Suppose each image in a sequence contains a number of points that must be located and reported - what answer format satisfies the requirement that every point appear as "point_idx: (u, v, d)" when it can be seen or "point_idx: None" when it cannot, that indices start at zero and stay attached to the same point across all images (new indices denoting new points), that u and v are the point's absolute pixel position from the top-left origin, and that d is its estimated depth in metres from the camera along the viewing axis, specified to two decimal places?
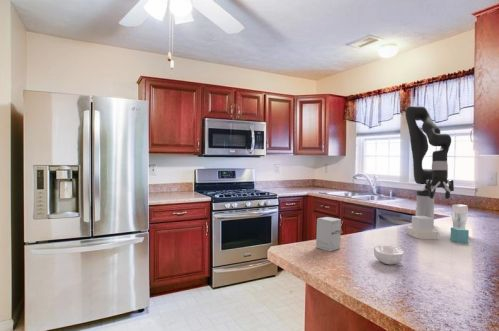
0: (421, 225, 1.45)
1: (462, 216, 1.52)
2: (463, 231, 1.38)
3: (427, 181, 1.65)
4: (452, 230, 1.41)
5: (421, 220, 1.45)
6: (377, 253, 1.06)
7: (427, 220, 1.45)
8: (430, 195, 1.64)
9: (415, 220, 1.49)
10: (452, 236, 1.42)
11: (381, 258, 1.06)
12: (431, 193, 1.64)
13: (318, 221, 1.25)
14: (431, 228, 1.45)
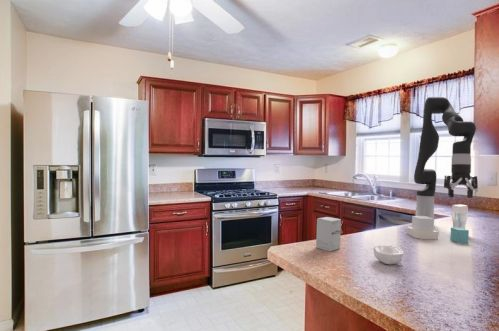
0: (421, 225, 1.45)
1: (462, 216, 1.52)
2: (464, 231, 1.38)
3: (446, 177, 1.40)
4: (452, 230, 1.41)
5: (421, 221, 1.45)
6: (377, 253, 1.06)
7: (427, 220, 1.45)
8: (450, 194, 1.40)
9: (415, 220, 1.49)
10: (452, 236, 1.42)
11: (381, 258, 1.06)
12: (451, 191, 1.40)
13: (318, 221, 1.25)
14: (431, 228, 1.45)
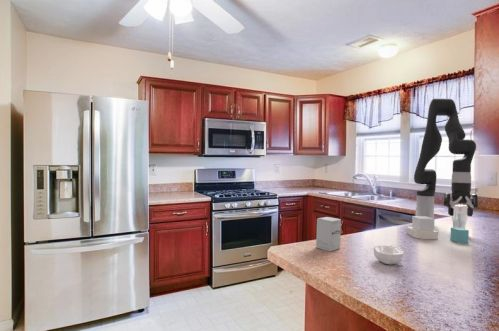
0: (421, 225, 1.45)
1: (462, 216, 1.52)
2: (463, 231, 1.38)
3: (446, 195, 1.40)
4: (452, 230, 1.41)
5: (421, 221, 1.45)
6: (377, 253, 1.06)
7: (428, 220, 1.45)
8: (450, 212, 1.40)
9: (415, 220, 1.49)
10: (452, 236, 1.42)
11: (381, 258, 1.06)
12: (451, 209, 1.39)
13: (318, 221, 1.25)
14: (432, 228, 1.45)
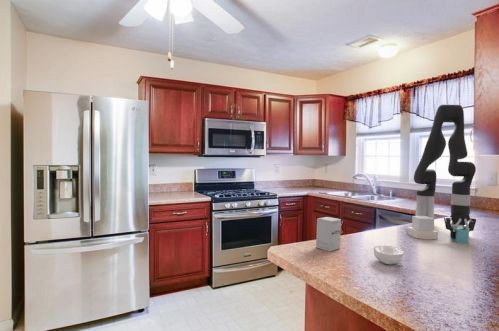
0: (421, 225, 1.45)
1: None
2: (464, 231, 1.38)
3: (446, 220, 1.40)
4: None
5: (421, 221, 1.45)
6: (377, 253, 1.06)
7: (427, 220, 1.45)
8: (452, 236, 1.40)
9: (415, 220, 1.49)
10: None
11: (381, 258, 1.06)
12: (453, 233, 1.40)
13: (318, 221, 1.25)
14: (431, 228, 1.45)
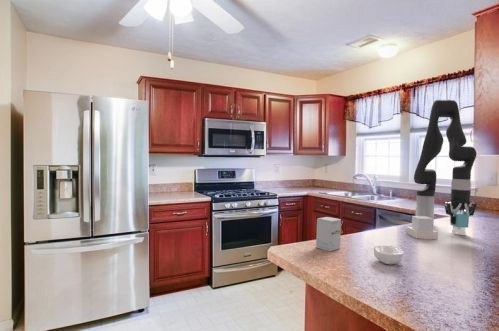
0: (420, 225, 1.46)
1: None
2: (464, 216, 1.38)
3: (446, 205, 1.40)
4: None
5: (420, 221, 1.45)
6: (377, 253, 1.06)
7: (427, 220, 1.45)
8: (452, 220, 1.40)
9: (415, 220, 1.49)
10: None
11: (381, 258, 1.06)
12: (453, 218, 1.40)
13: (318, 221, 1.25)
14: (431, 228, 1.45)
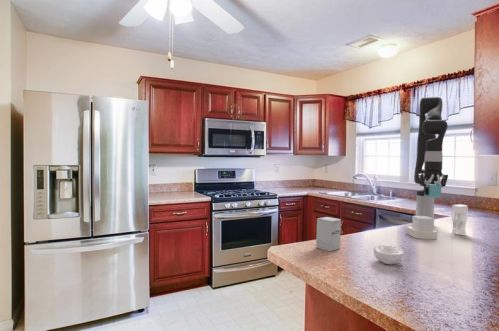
0: (420, 225, 1.45)
1: (462, 216, 1.52)
2: (436, 186, 1.44)
3: (419, 176, 1.46)
4: None
5: (420, 220, 1.45)
6: (377, 253, 1.06)
7: (427, 220, 1.45)
8: (425, 191, 1.46)
9: (415, 220, 1.49)
10: None
11: (381, 258, 1.06)
12: (426, 189, 1.46)
13: (318, 221, 1.25)
14: (431, 228, 1.45)
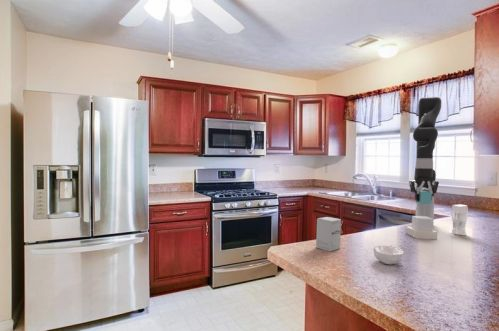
0: (419, 225, 1.46)
1: (462, 216, 1.52)
2: (427, 193, 1.46)
3: (410, 183, 1.48)
4: None
5: (419, 220, 1.46)
6: (377, 253, 1.06)
7: (426, 220, 1.45)
8: (416, 198, 1.48)
9: (414, 220, 1.49)
10: None
11: (381, 258, 1.06)
12: (417, 195, 1.48)
13: (318, 221, 1.25)
14: (430, 228, 1.45)
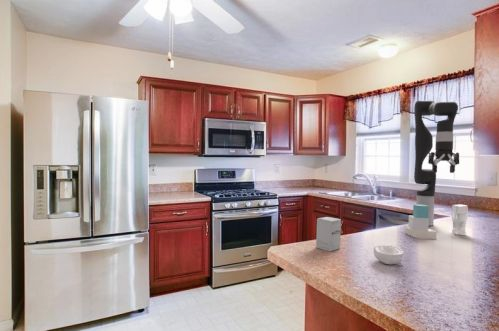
0: (414, 224, 1.47)
1: (462, 216, 1.52)
2: (423, 207, 1.47)
3: (430, 154, 1.51)
4: (414, 207, 1.51)
5: (415, 220, 1.47)
6: (377, 253, 1.06)
7: (421, 220, 1.47)
8: (433, 169, 1.51)
9: (410, 219, 1.51)
10: (414, 212, 1.51)
11: (381, 258, 1.06)
12: (434, 167, 1.51)
13: (318, 221, 1.25)
14: (426, 228, 1.46)
